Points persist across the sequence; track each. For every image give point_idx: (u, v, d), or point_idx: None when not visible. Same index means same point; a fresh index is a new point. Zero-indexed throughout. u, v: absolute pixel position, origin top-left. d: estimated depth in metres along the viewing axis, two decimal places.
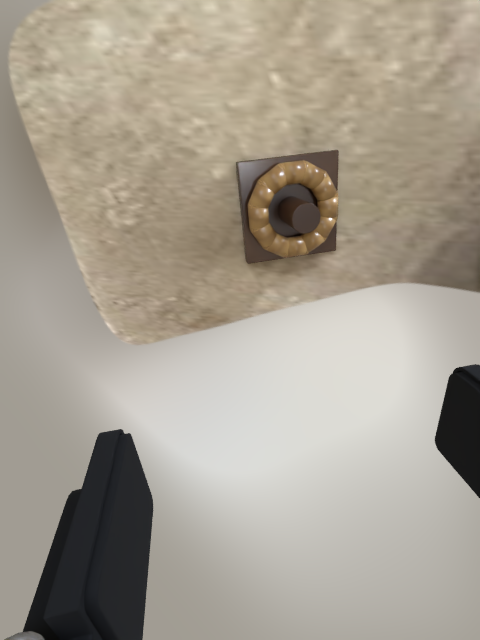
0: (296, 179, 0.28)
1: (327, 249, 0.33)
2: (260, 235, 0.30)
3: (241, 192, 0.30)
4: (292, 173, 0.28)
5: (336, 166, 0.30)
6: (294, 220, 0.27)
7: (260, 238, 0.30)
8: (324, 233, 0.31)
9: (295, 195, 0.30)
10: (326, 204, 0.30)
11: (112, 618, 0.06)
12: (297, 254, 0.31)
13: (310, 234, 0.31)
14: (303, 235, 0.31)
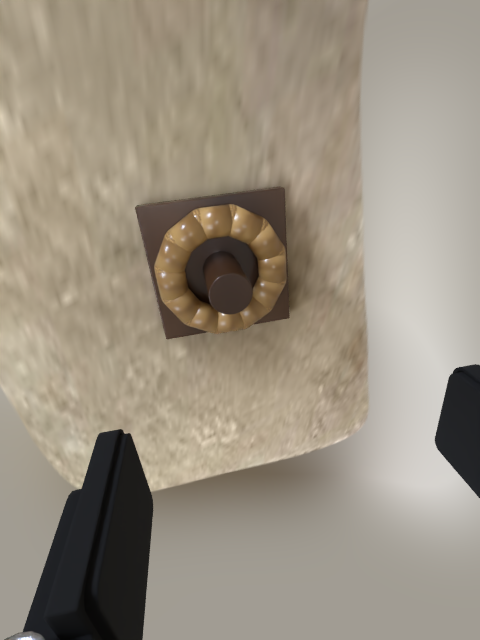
0: (179, 282, 0.20)
1: (281, 203, 0.21)
2: (253, 321, 0.22)
3: (200, 332, 0.24)
4: (172, 290, 0.20)
5: (158, 207, 0.20)
6: (233, 311, 0.19)
7: (257, 319, 0.22)
8: (255, 230, 0.20)
9: (201, 264, 0.22)
10: (212, 232, 0.19)
11: (112, 618, 0.06)
12: (283, 266, 0.21)
13: (255, 249, 0.20)
14: (256, 256, 0.21)
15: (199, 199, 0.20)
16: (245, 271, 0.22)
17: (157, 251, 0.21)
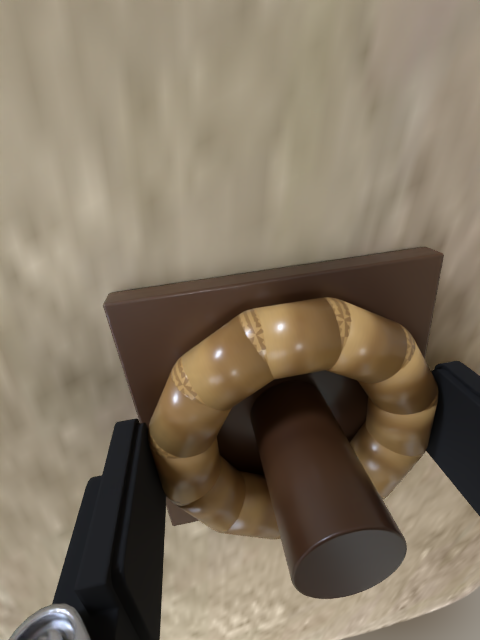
0: (204, 469, 0.09)
1: (431, 285, 0.09)
2: None
3: None
4: (187, 486, 0.09)
5: (156, 302, 0.08)
6: (348, 591, 0.07)
7: None
8: (389, 362, 0.08)
9: (248, 406, 0.10)
10: (288, 373, 0.08)
11: (135, 593, 0.06)
12: (432, 422, 0.10)
13: (379, 396, 0.09)
14: (374, 402, 0.09)
15: (253, 283, 0.09)
16: (335, 412, 0.11)
17: (155, 388, 0.09)
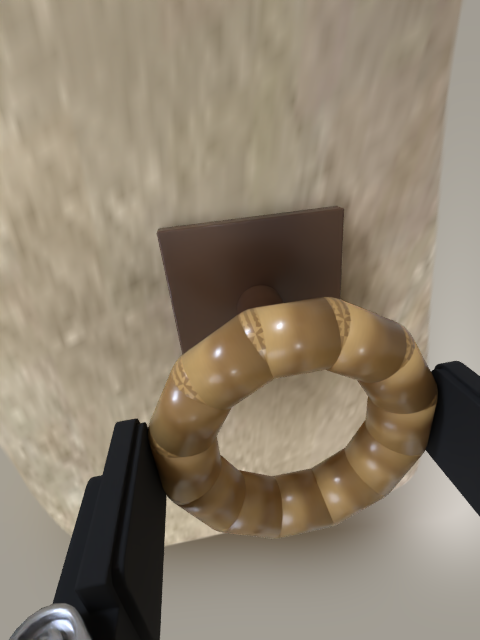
0: (204, 468, 0.09)
1: (338, 227, 0.17)
2: (351, 515, 0.11)
3: None
4: (187, 485, 0.09)
5: (185, 232, 0.16)
6: None
7: (358, 510, 0.11)
8: (389, 362, 0.08)
9: (235, 300, 0.18)
10: (288, 372, 0.08)
11: (136, 594, 0.06)
12: (431, 421, 0.10)
13: (379, 395, 0.09)
14: (373, 401, 0.09)
15: (237, 222, 0.16)
16: None
17: (182, 285, 0.17)
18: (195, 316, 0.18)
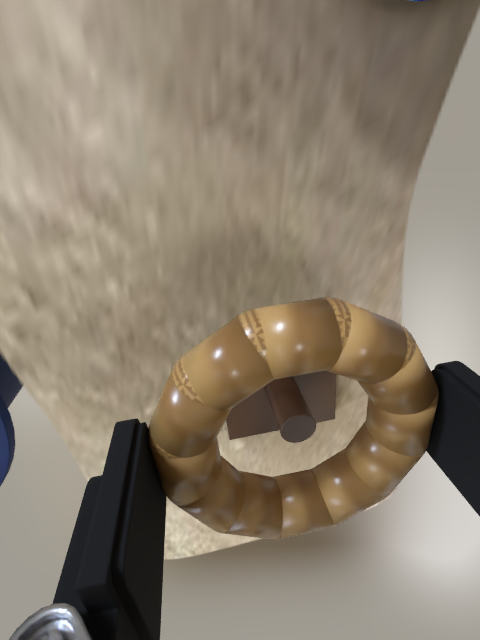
0: (204, 469, 0.09)
1: None
2: (351, 516, 0.11)
3: (258, 433, 0.28)
4: (187, 486, 0.09)
5: None
6: (299, 440, 0.22)
7: (358, 511, 0.11)
8: (390, 362, 0.08)
9: None
10: (288, 373, 0.08)
11: (136, 593, 0.06)
12: (432, 422, 0.10)
13: (379, 396, 0.09)
14: (374, 402, 0.09)
15: None
16: (300, 387, 0.26)
17: None
18: None
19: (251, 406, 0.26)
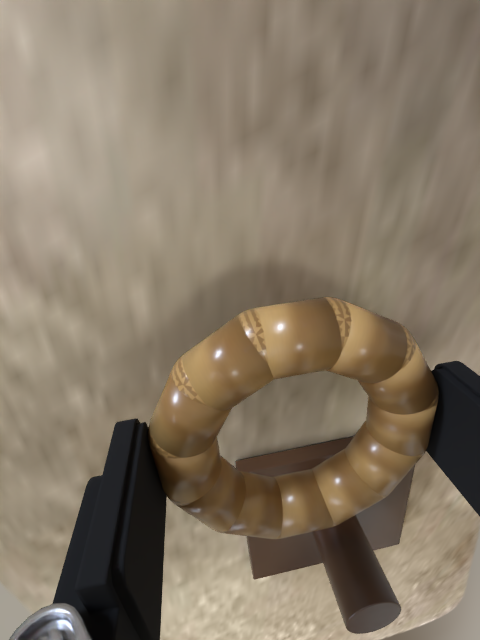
0: (204, 469, 0.09)
1: None
2: (351, 516, 0.11)
3: (294, 569, 0.20)
4: (187, 486, 0.09)
5: (265, 471, 0.15)
6: (372, 629, 0.14)
7: (358, 511, 0.11)
8: (390, 362, 0.08)
9: None
10: (288, 373, 0.08)
11: (136, 593, 0.06)
12: (432, 422, 0.10)
13: (379, 396, 0.09)
14: (374, 401, 0.09)
15: (317, 458, 0.16)
16: None
17: None
18: None
19: (287, 541, 0.18)
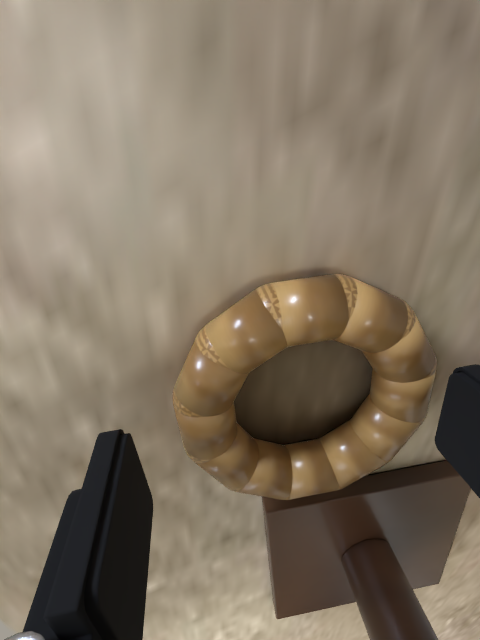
0: (223, 429, 0.10)
1: (467, 487, 0.14)
2: (355, 480, 0.12)
3: (321, 609, 0.18)
4: (208, 444, 0.10)
5: (297, 510, 0.13)
6: None
7: None
8: (392, 333, 0.09)
9: (341, 553, 0.15)
10: (300, 340, 0.09)
11: (112, 618, 0.06)
12: (431, 391, 0.10)
13: (382, 365, 0.10)
14: (377, 372, 0.10)
15: (356, 495, 0.14)
16: (396, 552, 0.16)
17: (285, 549, 0.15)
18: (295, 569, 0.15)
19: (315, 581, 0.16)
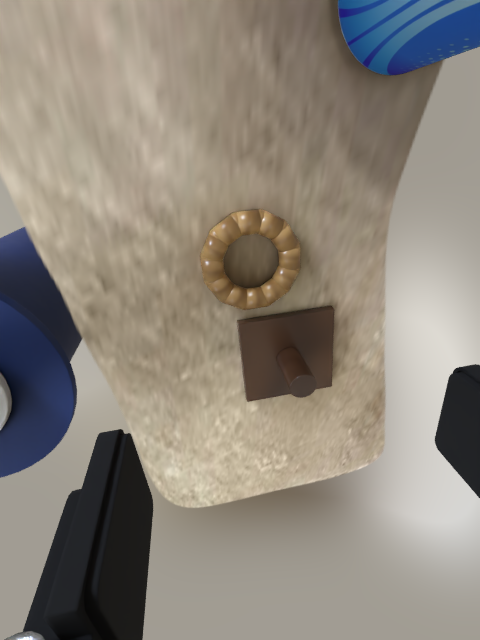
0: (219, 268, 0.27)
1: (331, 317, 0.31)
2: (273, 299, 0.29)
3: None
4: (213, 274, 0.27)
5: (252, 323, 0.30)
6: (303, 395, 0.29)
7: (276, 298, 0.29)
8: (277, 229, 0.26)
9: (276, 355, 0.32)
10: (245, 230, 0.26)
11: (112, 618, 0.06)
12: (298, 257, 0.27)
13: (277, 244, 0.27)
14: (278, 249, 0.27)
15: (279, 318, 0.30)
16: (304, 358, 0.33)
17: (248, 349, 0.31)
18: (254, 364, 0.32)
19: (265, 374, 0.33)
